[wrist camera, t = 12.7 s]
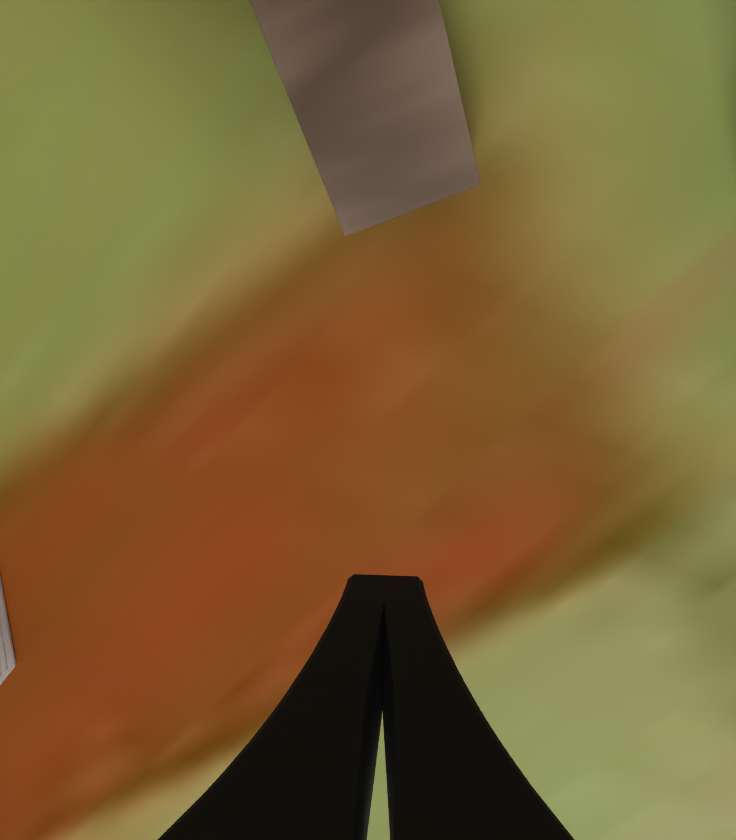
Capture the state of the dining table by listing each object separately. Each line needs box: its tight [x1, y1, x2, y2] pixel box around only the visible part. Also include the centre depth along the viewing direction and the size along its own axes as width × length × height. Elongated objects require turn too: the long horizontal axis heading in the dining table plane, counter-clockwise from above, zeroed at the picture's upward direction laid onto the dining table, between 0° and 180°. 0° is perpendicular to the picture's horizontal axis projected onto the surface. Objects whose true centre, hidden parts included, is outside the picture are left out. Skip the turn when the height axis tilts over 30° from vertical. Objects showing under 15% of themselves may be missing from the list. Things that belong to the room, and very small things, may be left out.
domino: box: [250, 0, 481, 236], centre depth 14 cm, size 4×2×8 cm
